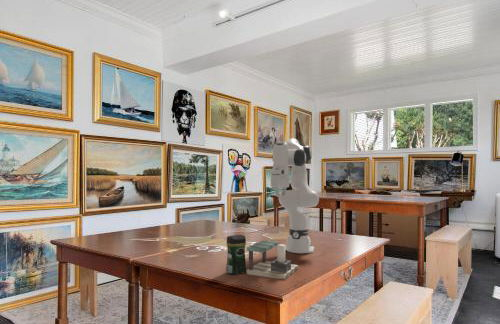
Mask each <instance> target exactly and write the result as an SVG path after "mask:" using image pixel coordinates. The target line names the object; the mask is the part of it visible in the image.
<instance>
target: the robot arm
mask: <svg viewBox="0 0 500 324" xmlns="http://www.w3.org/2000/svg"><path fill="white" fill-rule="evenodd" d="M272 149H273V150H272V162H273V163H272V169H270V170H269V174H270V187H271V189H274V193H275V197H277V198H278V203H279V205H281V206H282V207H283V208H284V210H285V211H286V212H287V214H288V217H289V230H288V232H289V233H288V234H289V235H288V236H287V237H286V246H285V251H287V252H288V253H292V254H293V253H294V254H312V253H314V250H315V246H313V245H312V239H311V238H310V236H309V228H308V216H307V215H306V214H304V212H300V210H298V208H315V207H317V205H318V204H319V202H320V197H319V194H318V193H317V191H315V190H313V189H312V188H311V187H310V186H309V184H308V183H309V182H308V172H307V167H306V164H309V162H310V161H311V160H312V157H313V151H312V148H311V147H310V146H309V145H300V141H298V139H297V138H293V137H291V138H287V139H286V140H285V141H284V142H275V143H274V145H273V148H272ZM289 167H291V170H289V169H290V168H289ZM289 171H290V172H289ZM289 173H290V176H289ZM290 186H291V188H292V189H293V190H292V189H290V190H287V188H289V187H290ZM280 189H281V190H282V191H281V192H280Z"/></svg>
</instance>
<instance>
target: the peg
mask: <svg viewBox="0 0 500 324" xmlns="http://www.w3.org/2000/svg"><path fill="white" fill-rule="evenodd" d="M276 247H277V248H276V249H277V251H276V255H277V257H276V259H277V263H285V260H286V250H285V248H286V244H281V243H280V244H279V243H278V245H277V246H276Z"/></svg>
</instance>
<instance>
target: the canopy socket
mask: <svg viewBox="0 0 500 324" xmlns="http://www.w3.org/2000/svg"><path fill="white" fill-rule="evenodd" d="M277 245H279V241H273V240H261V241H259V242H256V243H254V244H252V245H251V244H250V245H249V246H247V247H246V251H247V252H248V269H247V268H246V274H247V275H251V276H259V277H265V278H271V279H272V278H273V279H279V280H284V281H285V280H287V279H288V278H289V277H290V276H291V275H293V274H294V273H295V272H296V271H297V270H299V264H292V260H291V259H290V260H288V259H285V263H277V258H276V259H274V260H272V261H267V251H270V250H271V249H273V248H275V247H277ZM254 252H256V253H261V257H262V258H261V261H259V262H258V263H257V264H254Z"/></svg>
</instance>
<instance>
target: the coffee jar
mask: <svg viewBox="0 0 500 324" xmlns="http://www.w3.org/2000/svg"><path fill="white" fill-rule="evenodd" d="M246 244H247V240H246V236H245V235H243V234H235V235H233V234H232V235H228V236H226V247H227V258H226V269H225V270H226V273H227V274H230V275H239V274H240V275H241V274H244V273H247V265H246V264H247V262H246V252H245V251H246Z"/></svg>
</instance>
